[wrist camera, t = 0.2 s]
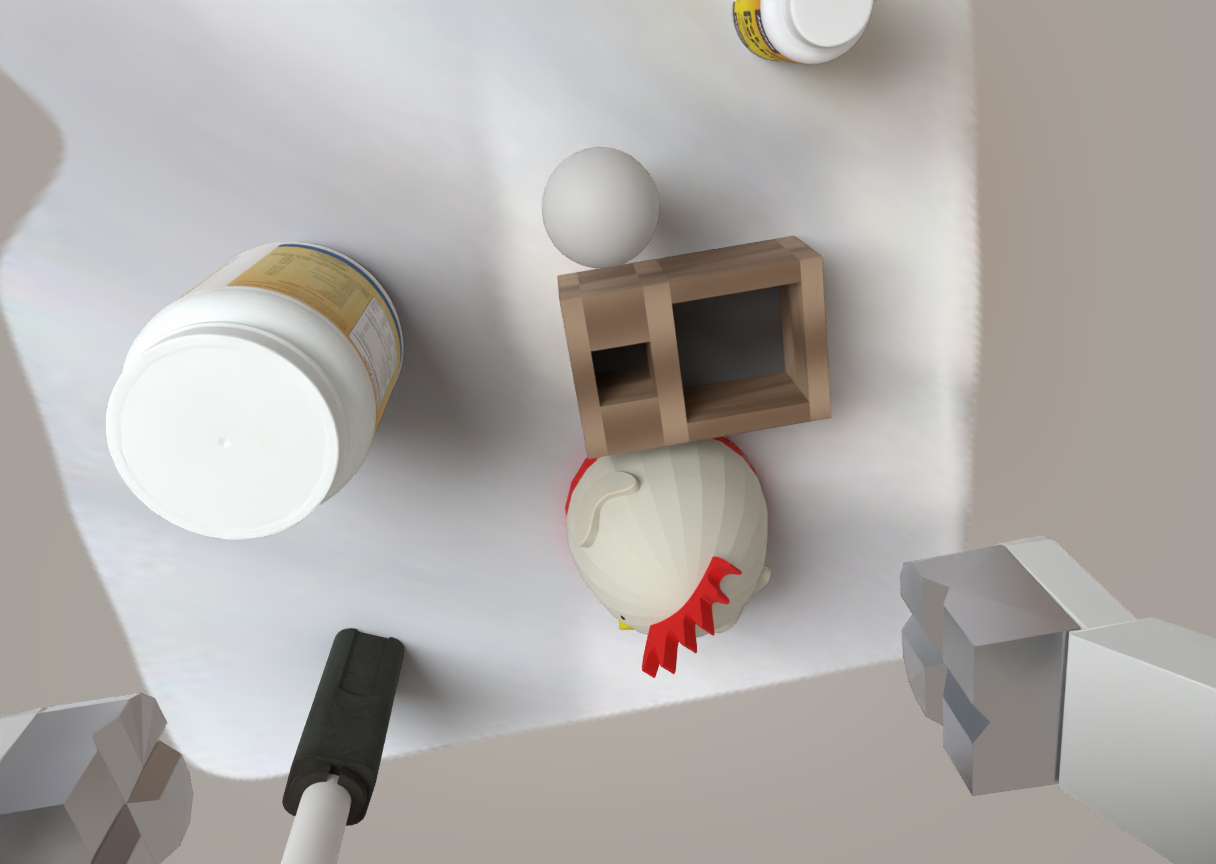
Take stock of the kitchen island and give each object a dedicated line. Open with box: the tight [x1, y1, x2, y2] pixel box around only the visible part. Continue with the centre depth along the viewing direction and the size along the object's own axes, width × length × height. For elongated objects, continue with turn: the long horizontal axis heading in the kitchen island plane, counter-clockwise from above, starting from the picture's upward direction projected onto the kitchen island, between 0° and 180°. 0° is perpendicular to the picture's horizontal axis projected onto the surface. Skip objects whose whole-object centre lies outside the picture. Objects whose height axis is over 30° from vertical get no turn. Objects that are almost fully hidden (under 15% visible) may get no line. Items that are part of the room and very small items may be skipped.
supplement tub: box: [106, 242, 403, 539], centre depth 48 cm, size 12×12×17 cm
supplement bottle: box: [732, 0, 873, 64], centre depth 46 cm, size 6×6×10 cm
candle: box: [281, 629, 404, 864], centre depth 55 cm, size 5×5×25 cm
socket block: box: [557, 236, 831, 459], centre depth 55 cm, size 10×15×6 cm, turn 99°
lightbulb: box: [542, 147, 660, 268], centre depth 49 cm, size 6×6×11 cm
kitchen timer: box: [565, 436, 771, 678], centre depth 56 cm, size 14×14×15 cm
